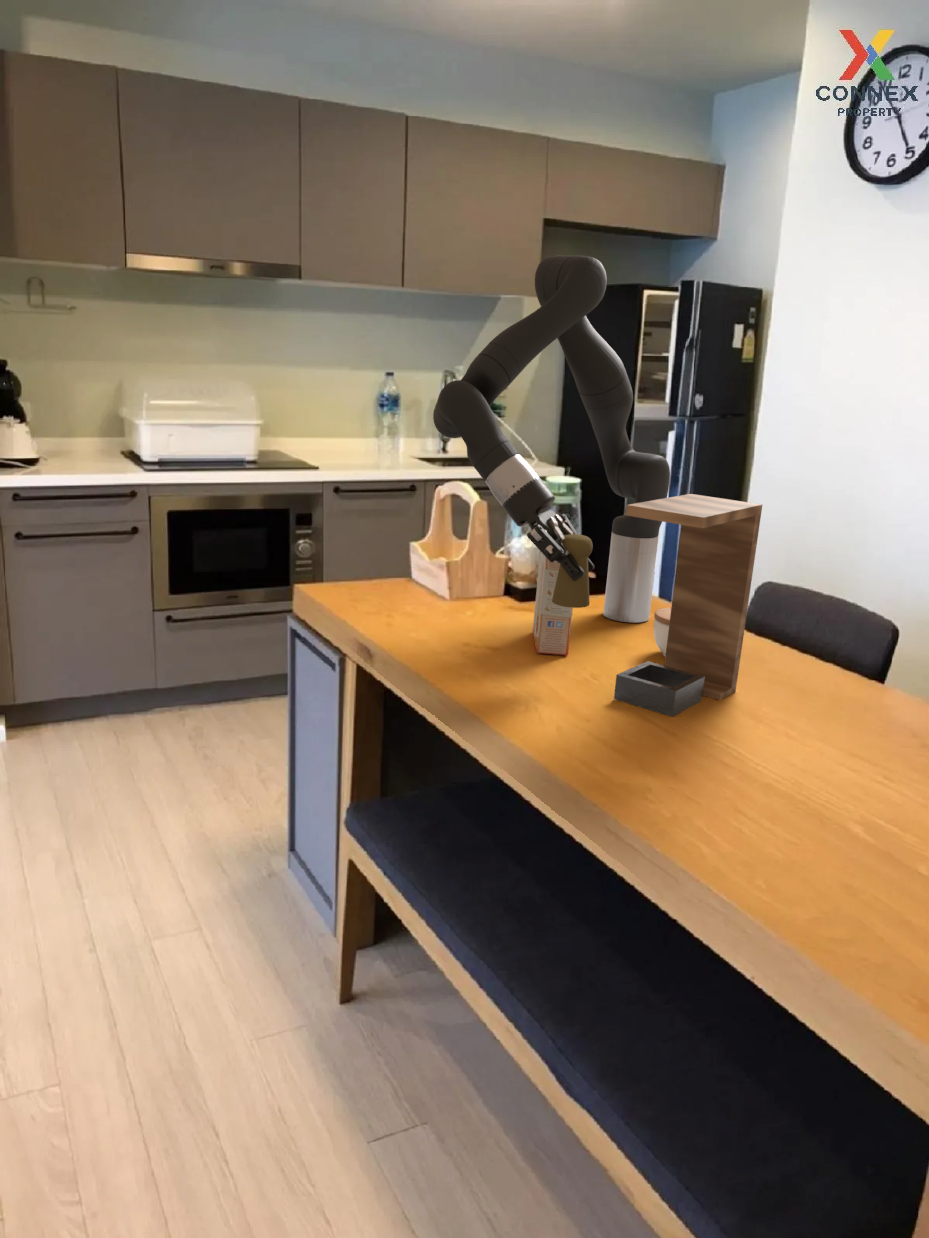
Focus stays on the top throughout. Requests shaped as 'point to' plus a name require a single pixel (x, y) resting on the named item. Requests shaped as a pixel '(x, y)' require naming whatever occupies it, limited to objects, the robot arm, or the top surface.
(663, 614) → the lidded jar
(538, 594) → the cracker box
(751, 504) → the shelf
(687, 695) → the socket
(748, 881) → the top surface
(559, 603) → the cork
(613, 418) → the robot arm
